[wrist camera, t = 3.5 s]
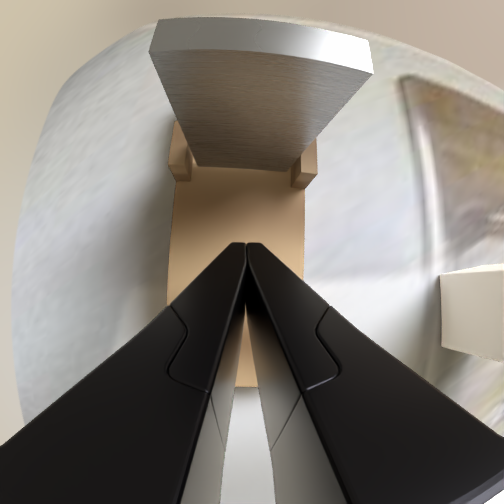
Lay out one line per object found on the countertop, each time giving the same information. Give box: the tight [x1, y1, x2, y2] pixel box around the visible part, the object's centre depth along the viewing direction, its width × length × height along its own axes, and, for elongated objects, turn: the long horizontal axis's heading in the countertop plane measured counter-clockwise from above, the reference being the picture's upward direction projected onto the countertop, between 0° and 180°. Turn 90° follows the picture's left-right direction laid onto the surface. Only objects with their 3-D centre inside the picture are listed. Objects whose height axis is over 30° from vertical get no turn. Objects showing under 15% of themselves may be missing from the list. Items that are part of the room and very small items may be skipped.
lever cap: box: [149, 17, 373, 172], centre depth 10 cm, size 2×5×10 cm, turn 87°
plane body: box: [167, 121, 318, 387], centre depth 15 cm, size 18×7×5 cm, turn 177°
